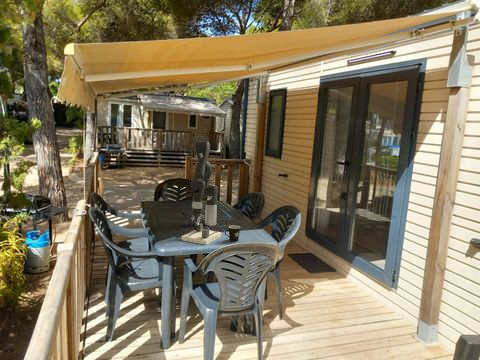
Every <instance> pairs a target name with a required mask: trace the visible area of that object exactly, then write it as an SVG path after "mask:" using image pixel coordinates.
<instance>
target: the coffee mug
mask: <svg viewBox="0 0 480 360" xmlns="http://www.w3.org/2000/svg"><path fill="white" fill-rule="evenodd" d="M227 231H228V234H227ZM240 232H241V226H239V225H229V226H228V229H225V231H224V235H226V236H227V237H228V239H229V242H234V243H236V242H238V241H239V238H240Z"/></svg>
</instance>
